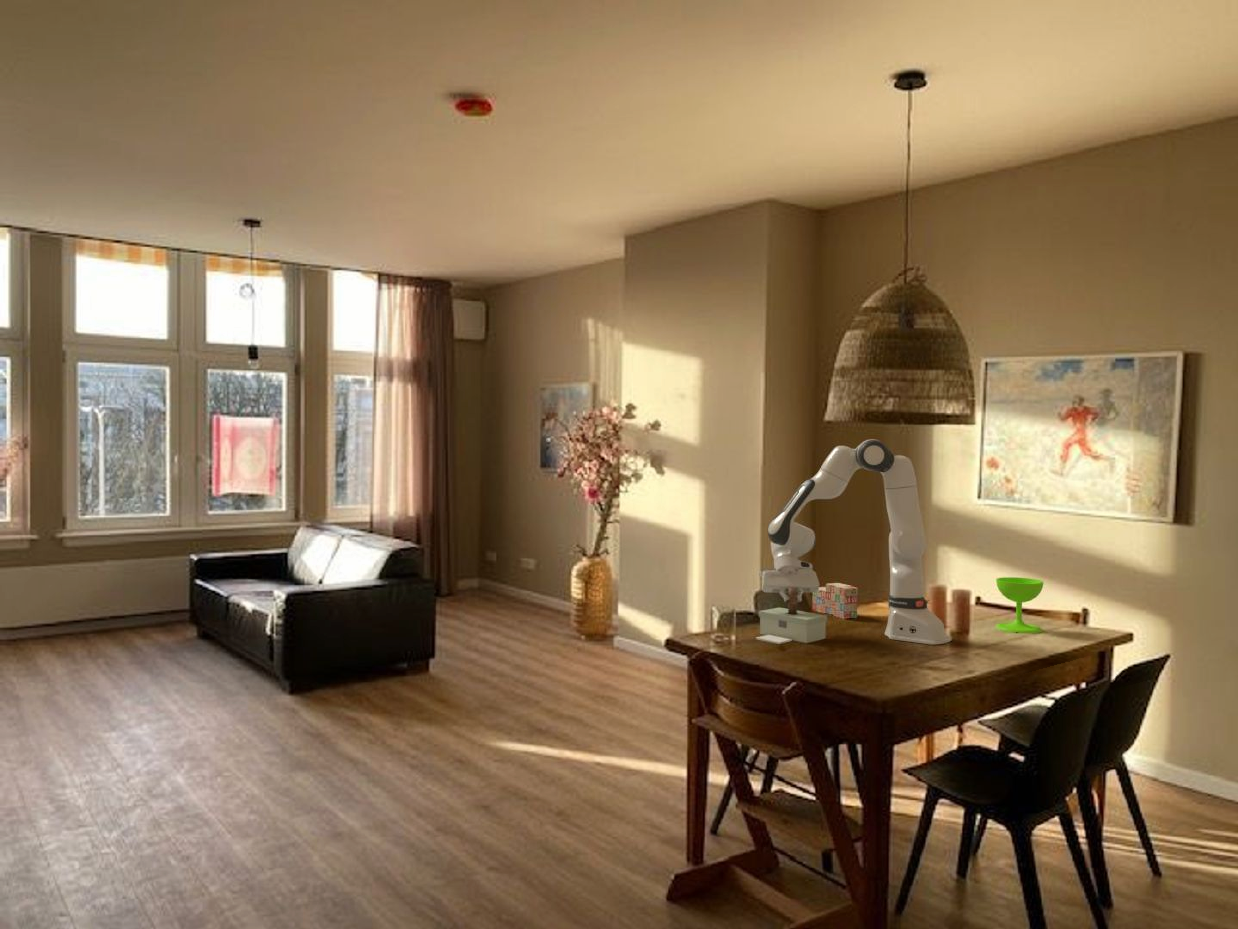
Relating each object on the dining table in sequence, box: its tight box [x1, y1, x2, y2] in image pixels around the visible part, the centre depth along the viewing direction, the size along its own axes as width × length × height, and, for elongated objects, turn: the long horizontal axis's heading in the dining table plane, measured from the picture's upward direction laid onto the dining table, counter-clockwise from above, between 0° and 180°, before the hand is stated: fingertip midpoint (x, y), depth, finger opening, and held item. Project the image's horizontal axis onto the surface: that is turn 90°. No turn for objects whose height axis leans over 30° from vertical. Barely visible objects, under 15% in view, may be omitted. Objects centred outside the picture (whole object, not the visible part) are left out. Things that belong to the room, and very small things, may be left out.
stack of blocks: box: [811, 582, 859, 620], centre depth 363 cm, size 21×6×12 cm, turn 23°
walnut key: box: [787, 587, 798, 615], centre depth 320 cm, size 3×3×11 cm
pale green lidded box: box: [758, 607, 828, 644], centre depth 320 cm, size 21×12×8 cm, turn 42°
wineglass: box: [995, 576, 1044, 634], centre depth 335 cm, size 16×16×18 cm
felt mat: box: [755, 635, 793, 645], centre depth 313 cm, size 10×7×1 cm
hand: (793, 600), depth 319 cm, fingers closed on walnut key, 3 cm apart
